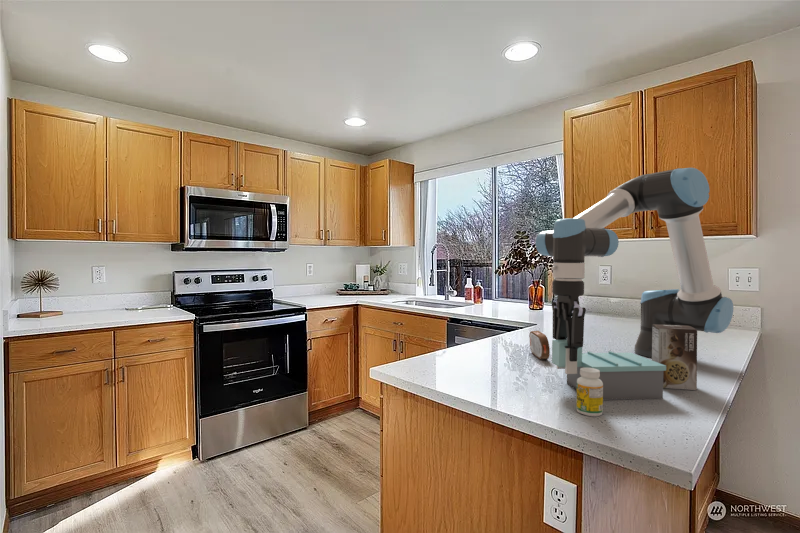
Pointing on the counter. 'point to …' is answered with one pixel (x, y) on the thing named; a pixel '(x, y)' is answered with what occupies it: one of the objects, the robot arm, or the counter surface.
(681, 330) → the coffee box
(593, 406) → the supplement bottle
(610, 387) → the tub
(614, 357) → the lid
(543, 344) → the tin
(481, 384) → the counter surface
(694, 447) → the counter surface
